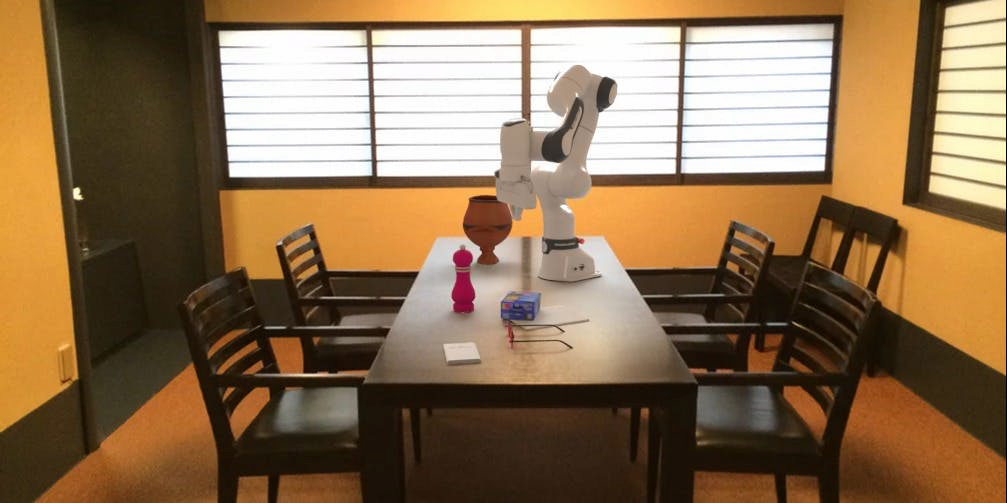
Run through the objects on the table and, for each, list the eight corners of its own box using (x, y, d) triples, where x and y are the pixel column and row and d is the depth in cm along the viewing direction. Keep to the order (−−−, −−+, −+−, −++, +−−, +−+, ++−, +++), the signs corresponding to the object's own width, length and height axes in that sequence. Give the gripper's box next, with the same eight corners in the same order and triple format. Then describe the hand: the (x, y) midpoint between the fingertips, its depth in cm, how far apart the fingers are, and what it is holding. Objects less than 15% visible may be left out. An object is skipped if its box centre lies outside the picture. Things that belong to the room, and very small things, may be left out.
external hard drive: (447, 366, 181) (443, 349, 193) (481, 364, 183) (474, 347, 195) (447, 360, 181) (443, 343, 193) (481, 358, 182) (474, 341, 194)
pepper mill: (479, 307, 229) (478, 242, 224) (470, 314, 222) (469, 247, 218) (457, 305, 231) (456, 241, 227) (447, 311, 224) (446, 246, 220)
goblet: (477, 269, 277) (476, 202, 272) (454, 259, 293) (453, 196, 288) (522, 263, 286) (522, 198, 281) (497, 254, 303) (497, 192, 297)
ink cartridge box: (541, 291, 224) (532, 305, 210) (541, 309, 225) (532, 324, 211) (508, 289, 226) (498, 304, 212) (508, 307, 227) (498, 322, 213)
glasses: (504, 334, 205) (504, 316, 204) (565, 332, 206) (565, 315, 205) (508, 351, 191) (508, 333, 190) (573, 349, 192) (573, 331, 191)
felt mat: (561, 306, 229) (561, 305, 229) (589, 320, 215) (589, 319, 215) (501, 314, 221) (501, 313, 221) (526, 330, 207) (526, 328, 207)
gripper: (541, 177, 216) (542, 224, 220) (510, 170, 234) (511, 213, 238) (522, 179, 214) (523, 226, 217) (491, 171, 232) (492, 215, 235)
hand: (516, 220), depth 227 cm, fingers closed
